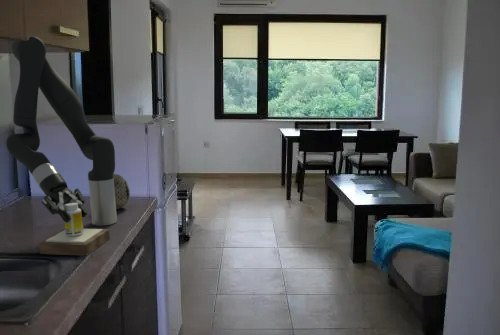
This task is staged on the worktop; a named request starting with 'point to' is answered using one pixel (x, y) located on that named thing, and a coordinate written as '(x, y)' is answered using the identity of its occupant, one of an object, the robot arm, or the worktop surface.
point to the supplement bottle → (73, 220)
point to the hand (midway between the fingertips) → (77, 218)
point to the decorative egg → (121, 191)
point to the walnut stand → (74, 242)
